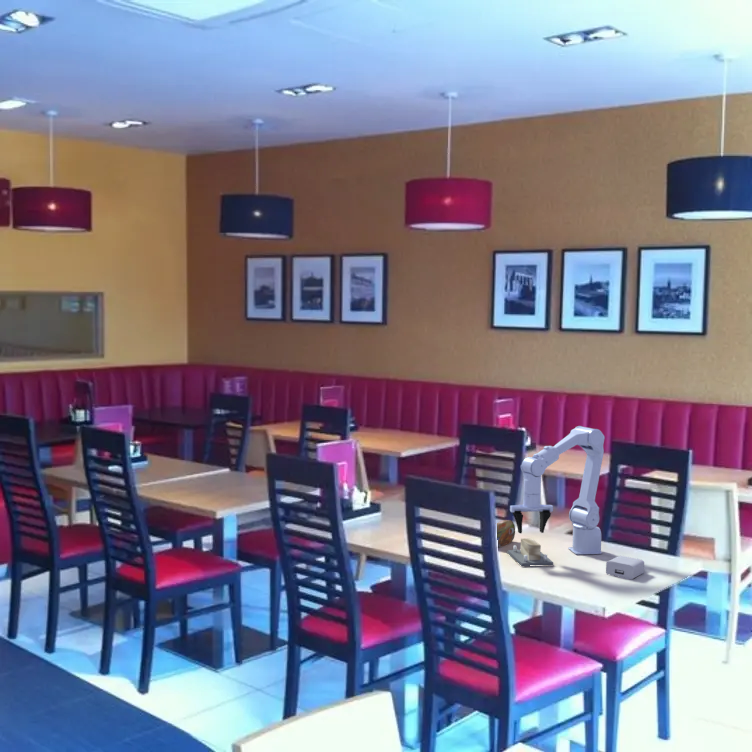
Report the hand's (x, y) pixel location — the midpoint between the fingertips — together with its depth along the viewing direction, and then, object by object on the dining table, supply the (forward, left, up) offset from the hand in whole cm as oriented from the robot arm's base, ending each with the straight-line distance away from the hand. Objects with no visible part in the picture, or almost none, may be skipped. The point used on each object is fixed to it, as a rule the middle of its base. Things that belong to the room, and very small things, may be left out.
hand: (530, 532), depth 315 cm
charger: (-28, +17, -10) cm, 34 cm away
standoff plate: (0, 0, -9) cm, 9 cm away
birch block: (0, 0, -8) cm, 8 cm away
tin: (+4, -20, -10) cm, 23 cm away
